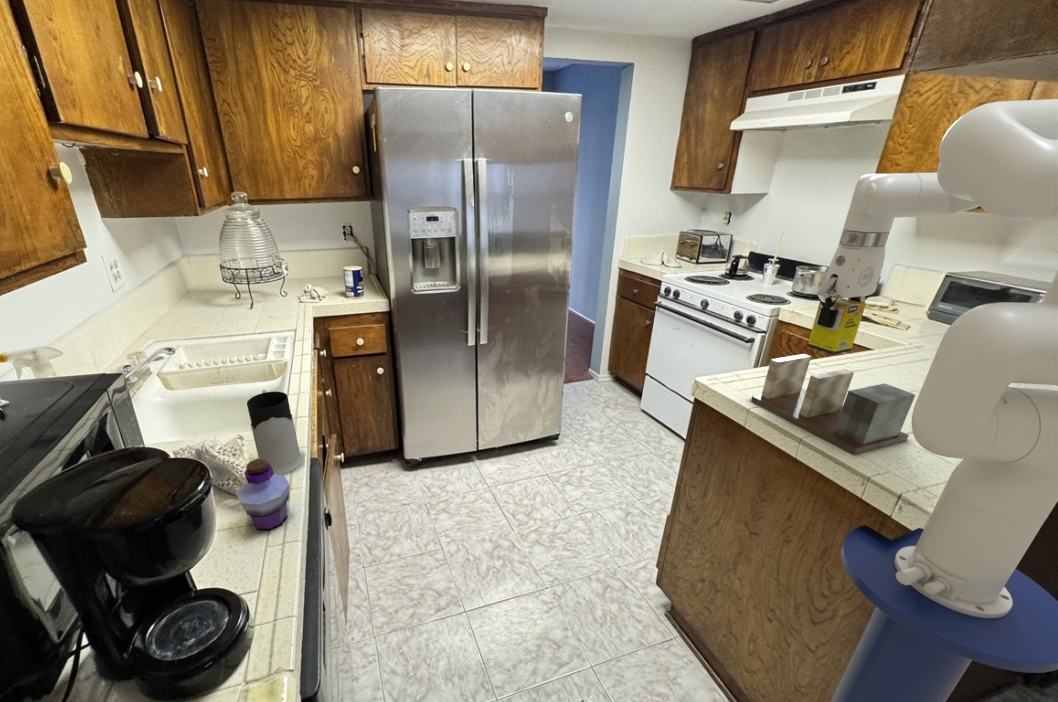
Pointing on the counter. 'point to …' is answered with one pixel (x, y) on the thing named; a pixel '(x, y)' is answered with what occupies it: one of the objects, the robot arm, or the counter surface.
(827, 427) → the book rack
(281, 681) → the counter surface
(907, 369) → the counter surface
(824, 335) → the supplement box
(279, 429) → the glass holder
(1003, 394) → the robot arm
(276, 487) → the potion bottle
